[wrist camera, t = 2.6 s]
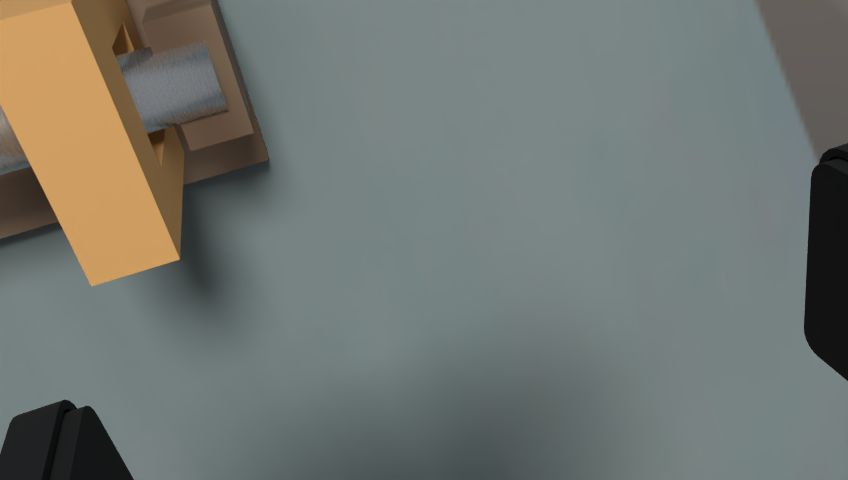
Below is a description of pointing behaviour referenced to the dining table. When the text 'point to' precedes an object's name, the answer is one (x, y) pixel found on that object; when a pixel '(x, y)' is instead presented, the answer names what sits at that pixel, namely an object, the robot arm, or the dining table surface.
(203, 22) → the stand
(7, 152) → the pipe
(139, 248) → the collar
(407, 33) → the dining table surface
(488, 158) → the dining table surface
